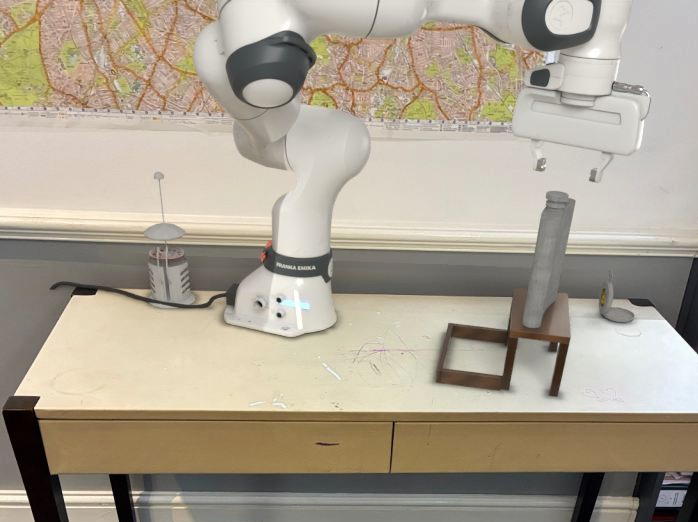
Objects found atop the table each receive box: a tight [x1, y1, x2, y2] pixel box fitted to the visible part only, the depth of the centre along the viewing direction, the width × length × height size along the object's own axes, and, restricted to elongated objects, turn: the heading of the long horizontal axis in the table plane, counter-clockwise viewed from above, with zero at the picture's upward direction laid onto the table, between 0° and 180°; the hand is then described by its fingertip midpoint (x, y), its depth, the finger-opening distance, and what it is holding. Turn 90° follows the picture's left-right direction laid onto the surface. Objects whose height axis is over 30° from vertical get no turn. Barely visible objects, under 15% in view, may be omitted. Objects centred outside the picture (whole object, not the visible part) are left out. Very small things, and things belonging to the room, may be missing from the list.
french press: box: [143, 171, 197, 309], centre depth 154 cm, size 10×12×25 cm
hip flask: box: [522, 190, 577, 328], centre depth 132 cm, size 16×4×20 cm, turn 158°
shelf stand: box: [435, 287, 572, 398], centre depth 142 cm, size 22×21×11 cm
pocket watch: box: [598, 269, 636, 323], centre depth 164 cm, size 8×8×10 cm
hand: (566, 176), depth 125 cm, fingers open, 8 cm apart
